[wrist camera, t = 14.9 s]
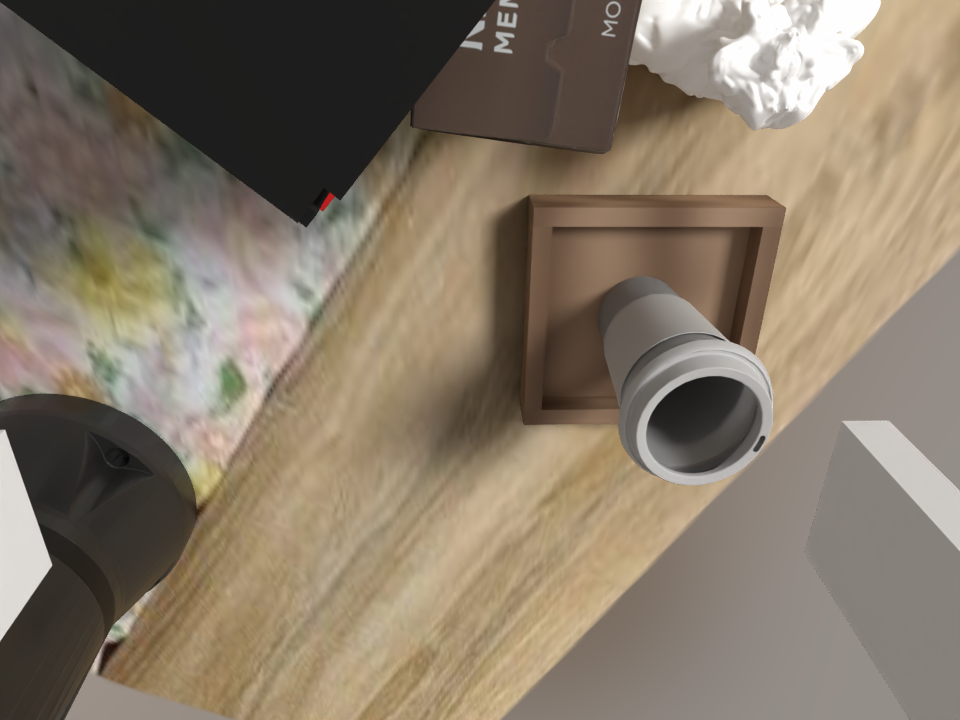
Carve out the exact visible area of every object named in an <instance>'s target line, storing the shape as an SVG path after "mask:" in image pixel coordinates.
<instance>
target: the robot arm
mask: <svg viewBox="0 0 960 720" xmlns="http://www.w3.org/2000/svg"><path fill="white" fill-rule="evenodd" d="M195 520H196V498H195V493H194V489H193V485H192V483H191V480H190V477H189V475H188V473H187V471H186V469H185V468H184V466H183V464H182V463H181V461H180V460H179V458H178V457H177V455H176V454H175V453H174V452H173V450H172V449H171V448H170V447H169V446H168V445H167V444H166V443H165V442H164V441H163V440H162V439H161V438H160V437H159V436H158V435H157V434H155V433H154V432H153V431H152V430H150V429H149V428H148V427H146V426H145V425H143V424H142V423H141V422H139V421H137V420H136V419H134V418H132V417H131V416H129V415H127V414H125V413H123V412H121V411H119V410H117V409H115V408H112V407H110V406H107V405H105V404H102V403H99V402H96V401H92V400H88V399H85V398H80V397H75V396H68V395H60V394H32V395H24V396H18V397H14V398H10V399H6V400H3V401H0V720H64V719H65V717H66V716H67V714H68V711H69V710H70V708H71V706H72V704H73V702H74V700H75V698H76V696H77V694H78V692H79V690H80V688H81V686H82V684H83V682H84V680H85V678H86V676H87V674H88V672H89V670H90V668H91V666H92V664H93V662H94V660H95V658H96V656H97V654H98V653H99V651H100V648H101V646H102V645H103V643H104V641H105V639H106V637H107V635H108V633H109V631H110V630H111V628H112V626H113V625H114V624H115V623H116V622H117V621H118V620H119V619H120V618H121V617H122V616H123V615H124V614H125V613H126V612H127V611H128V610H129V609H130V608H131V607H132V606H133V605H134V604H135V603H136V602H137V601H138V600H139V599H140V598H141V597H142V596H143V595H144V594H145V593H146V592H148V591H150V590H151V589H152V588H154V587H155V586H156V585H157V584H158V583H160V582H161V581H162V580H163V579H164V578H165V577H166V576H167V575H168V574H169V573H170V572H171V570H172V569H173V568H174V566H175V565H176V563H177V562H178V560H179V559H180V557H181V555H182V553H183V550H184V548H185V546H186V544H187V542H188V540H189V538H190V536H191V534H192V531H193V528H194V524H195ZM804 553H805V554H806V556H807V557H808V559H809V560H810V562H811V564H812V565H813V567H814V569H815V570H816V572H817V573H818V575H819V576H820V578H821V580H822V581H823V583H824V585H825V586H826V588H827V589H828V591H829V592H830V594H831V596H832V597H833V599H834V600H835V602H836V603H837V605H838V607H839V608H840V610H841V611H842V613H843V615H844V616H845V618H846V620H847V621H848V623H849V624H850V626H851V627H852V629H853V631H854V632H855V634H856V635H857V637H858V638H859V640H860V642H861V643H862V645H863V647H864V648H865V650H866V651H867V653H868V655H869V656H870V658H871V659H872V661H873V662H874V664H875V666H876V667H877V669H878V670H879V672H880V674H881V675H882V677H883V678H884V680H885V681H886V683H887V685H888V686H889V688H890V690H891V691H892V693H893V694H894V696H895V698H896V699H897V701H898V702H899V704H900V705H901V707H902V709H903V710H904V712H905V713H906V715H907V717H908V718H909V720H960V491H959V490H958V489H957V488H956V487H955V486H954V485H953V484H952V483H951V482H950V481H949V480H948V479H947V478H946V477H945V476H944V475H943V474H942V473H941V472H940V471H939V470H938V469H937V468H936V467H935V466H934V465H933V464H932V463H931V462H930V461H929V460H928V459H927V458H926V457H925V456H924V455H923V454H922V453H921V452H920V451H919V450H918V449H917V448H916V447H915V446H914V445H913V444H912V443H911V442H909V440H907V438H906V437H905V436H904V435H902V433H901V432H900V431H899V430H897V428H896V427H894V426H893V425H892V424H891V423H890V422H889V421H842V423H841V426H840V430H839V433H838V437H837V440H836V444H835V447H834V451H833V454H832V458H831V461H830V464H829V468H828V472H827V475H826V478H825V482H824V485H823V489H822V492H821V496H820V499H819V502H818V506H817V509H816V513H815V516H814V520H813V523H812V526H811V530H810V533H809V537H808V540H807V544H806V547H805V551H804Z"/></svg>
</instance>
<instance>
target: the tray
mask: <svg viewBox="0 0 960 720" xmlns="http://www.w3.org/2000/svg"><path fill="white" fill-rule="evenodd" d="M785 211H786V207H784V206H782V205H781V204H779V203H778V202H776V201H775V200H773V199H772V198H770V197H769V196H767V195H529V210H528V232H527V255H526V278H525V301H524V323H523V346H522V369H521V392H520V406H521V412H522V417H523V423H524V425H536V424H618V416H619V410H620V408H619V404H618V401H617V397H616V394H615V390H614V387H613V383H612V379H611V376H610V372H609V369H608V365H607V362H606V358H605V355H604V342H603V339H602V335H601V332H600V328H599V324H598V311H599V308H600V305H601V302H602V300H603V299H604V297H605V296H606V294H607V293H608V292H609V291H610V290H611V289H612V288H613V287H614V286H616V285H617V284H619V283H620V282H622V281H624V280H627V279H630V278H633V277H641V276H645V277H652V278H656V279H659V280H661V281H663V282H664V283H666V284H667V285H668V286H669V287H670V288H671V289H672V290H673V291H674V292H675V293H676V294H677V295H678V296H679V297H680V298H683V299H684V300H686V301H687V302H689V303H690V304H691V305H692V306H693V307H694V308H695V309H696V310H697V311H699V312H700V313H701V314H702V315H703V316H704V317H705V318H706V319H707V320H708V321H709V322H710V323H711V324H712V325H713V326H714V327H715V328H716V329H717V330H718V331H719V332H720V333H721V334H722V335H723V336H724V337H725V338H726V339H728V340H729V341H730V342H732V343H735V344H738V345H740V346H742V347H744V348H746V349H747V350H749V351H750V352H752V353H753V354H754V355H755V353H756V348H757V343H758V338H759V334H760V329H761V324H762V320H763V315H764V310H765V306H766V301H767V296H768V291H769V287H770V282H771V277H772V273H773V268H774V263H775V258H776V254H777V249H778V244H779V240H780V235H781V230H782V225H783V221H784V216H785Z"/></svg>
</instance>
